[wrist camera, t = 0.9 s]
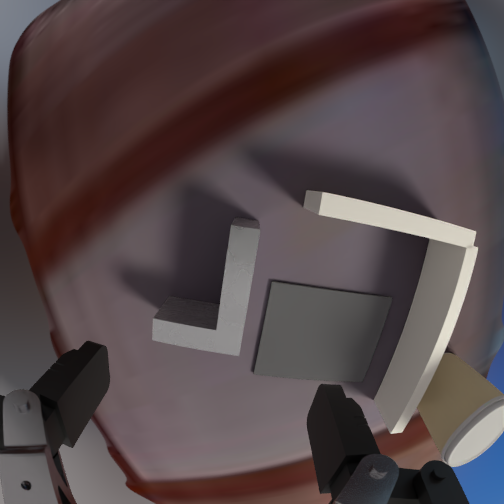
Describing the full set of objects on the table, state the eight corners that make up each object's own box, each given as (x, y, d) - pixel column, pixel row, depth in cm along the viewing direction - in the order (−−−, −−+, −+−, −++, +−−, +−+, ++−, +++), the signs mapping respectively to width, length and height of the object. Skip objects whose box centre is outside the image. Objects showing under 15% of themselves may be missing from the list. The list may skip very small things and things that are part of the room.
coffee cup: (402, 416, 30) (438, 480, 19) (404, 363, 28) (454, 432, 17) (459, 388, 30) (502, 440, 18) (466, 335, 28) (524, 385, 16)
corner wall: (306, 190, 24) (322, 192, 19) (444, 223, 25) (481, 233, 19) (262, 395, 29) (264, 435, 23) (384, 399, 30) (401, 432, 24)
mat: (271, 280, 26) (272, 281, 26) (391, 297, 27) (392, 298, 26) (253, 372, 28) (253, 374, 28) (361, 380, 29) (362, 381, 28)
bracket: (241, 327, 27) (238, 356, 22) (168, 314, 27) (152, 340, 22) (258, 221, 25) (260, 229, 20) (177, 208, 25) (160, 214, 20)
